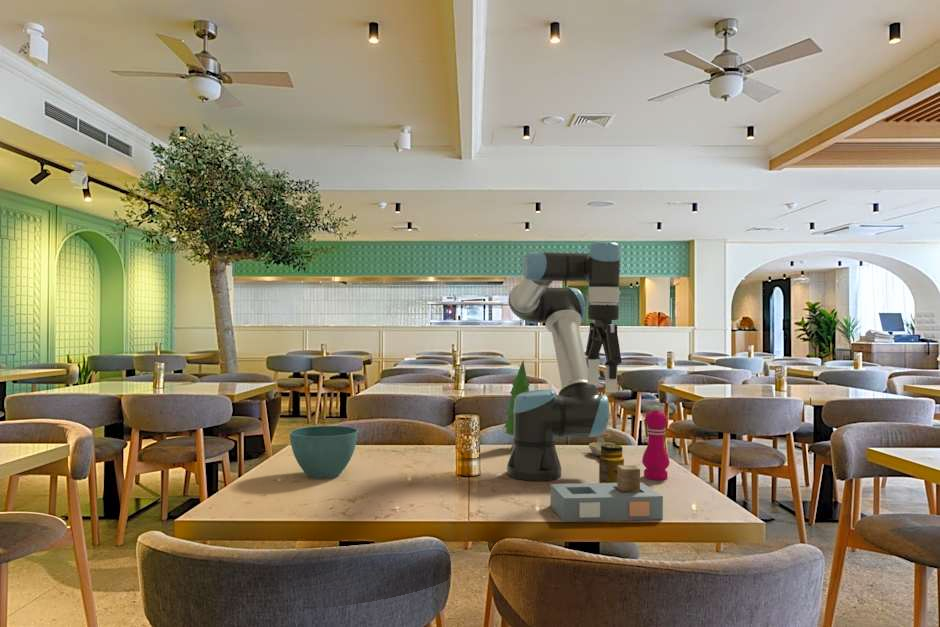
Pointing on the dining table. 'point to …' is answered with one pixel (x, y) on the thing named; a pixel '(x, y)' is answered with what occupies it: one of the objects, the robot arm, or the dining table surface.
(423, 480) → the dining table surface
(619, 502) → the socket block
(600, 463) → the condiment
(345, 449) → the plant pot
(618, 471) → the plug
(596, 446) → the oil lamp
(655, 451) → the pepper mill
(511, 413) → the decorative tree
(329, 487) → the dining table surface
